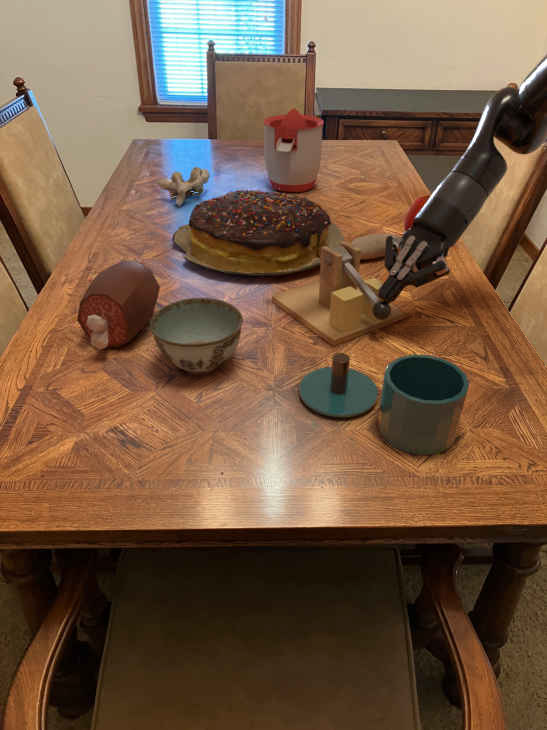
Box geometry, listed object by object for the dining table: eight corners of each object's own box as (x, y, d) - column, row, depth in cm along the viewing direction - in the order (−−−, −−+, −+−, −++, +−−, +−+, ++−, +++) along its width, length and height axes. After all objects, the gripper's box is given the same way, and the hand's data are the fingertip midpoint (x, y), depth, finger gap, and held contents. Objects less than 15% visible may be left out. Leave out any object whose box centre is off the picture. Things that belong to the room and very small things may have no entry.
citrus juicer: (254, 194, 152) (252, 114, 140) (273, 175, 165) (273, 100, 154) (311, 200, 148) (314, 118, 137) (326, 180, 162) (330, 104, 150)
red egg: (433, 253, 122) (441, 204, 116) (396, 245, 126) (402, 197, 119) (443, 239, 128) (452, 192, 122) (408, 232, 131) (414, 185, 125)
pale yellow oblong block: (360, 325, 96) (363, 294, 92) (341, 332, 94) (344, 300, 91) (347, 317, 98) (350, 285, 95) (328, 323, 96) (331, 292, 93)
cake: (301, 208, 145) (301, 167, 140) (377, 263, 117) (381, 216, 111) (159, 232, 134) (153, 189, 128) (205, 299, 106) (200, 249, 100)
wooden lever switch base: (404, 318, 100) (414, 256, 93) (333, 346, 93) (338, 281, 86) (339, 279, 112) (343, 221, 105) (271, 301, 105) (271, 241, 98)
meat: (135, 365, 88) (125, 308, 82) (65, 358, 90) (51, 301, 84) (175, 303, 104) (169, 251, 99) (115, 297, 106) (106, 246, 100)
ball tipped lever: (390, 320, 94) (397, 308, 91) (376, 325, 92) (383, 314, 90) (339, 256, 99) (345, 244, 97) (326, 260, 98) (331, 248, 95)
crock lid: (386, 384, 85) (392, 347, 81) (362, 430, 77) (367, 391, 73) (316, 365, 89) (318, 328, 85) (286, 406, 81) (287, 368, 77)
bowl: (247, 340, 94) (246, 298, 90) (240, 391, 83) (238, 345, 79) (165, 339, 95) (159, 296, 90) (147, 389, 84) (140, 343, 79)
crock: (462, 416, 79) (475, 366, 74) (446, 464, 71) (459, 412, 66) (390, 396, 82) (398, 347, 77) (368, 440, 75) (374, 389, 70)
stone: (338, 245, 119) (382, 218, 122) (349, 272, 121) (392, 245, 124) (353, 246, 114) (399, 218, 117) (364, 274, 116) (408, 246, 119)
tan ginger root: (162, 205, 149) (154, 173, 145) (202, 189, 156) (196, 159, 152) (182, 208, 143) (174, 175, 139) (224, 191, 151) (217, 160, 146)
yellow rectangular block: (384, 316, 98) (388, 285, 95) (373, 320, 97) (377, 289, 94) (371, 308, 101) (374, 277, 97) (360, 312, 100) (363, 281, 96)
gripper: (410, 184, 91) (345, 273, 93) (476, 209, 82) (402, 307, 84) (428, 210, 97) (366, 293, 98) (492, 236, 88) (422, 327, 90)
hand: (383, 299), depth 91 cm, fingers closed
